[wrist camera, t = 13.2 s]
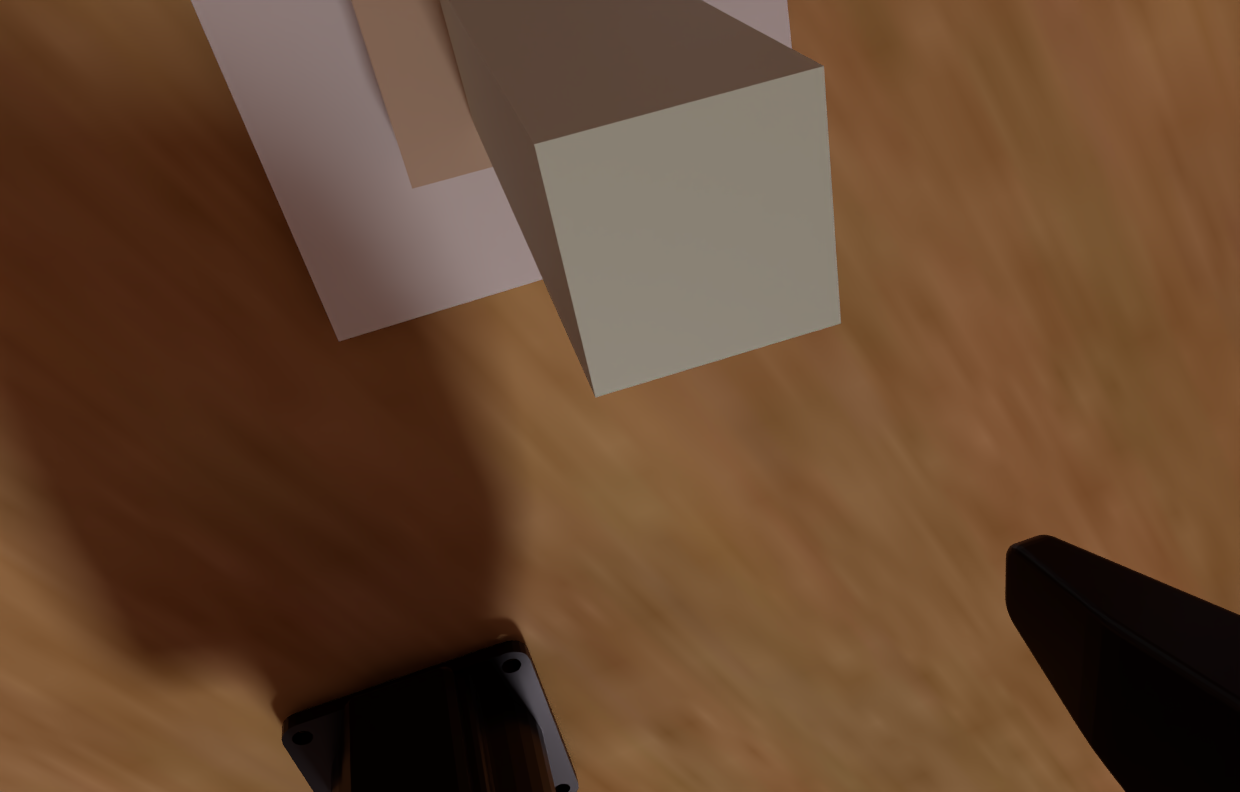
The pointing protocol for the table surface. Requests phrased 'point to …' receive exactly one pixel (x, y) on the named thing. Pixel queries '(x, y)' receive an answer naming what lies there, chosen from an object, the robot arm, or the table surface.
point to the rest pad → (371, 165)
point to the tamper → (629, 165)
